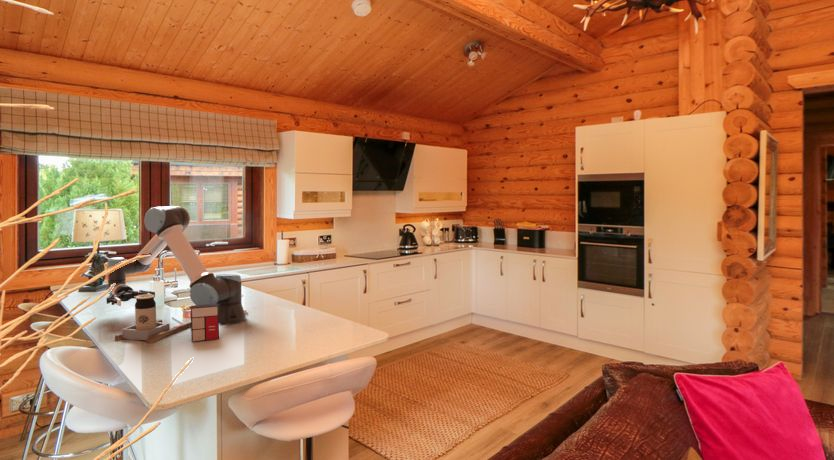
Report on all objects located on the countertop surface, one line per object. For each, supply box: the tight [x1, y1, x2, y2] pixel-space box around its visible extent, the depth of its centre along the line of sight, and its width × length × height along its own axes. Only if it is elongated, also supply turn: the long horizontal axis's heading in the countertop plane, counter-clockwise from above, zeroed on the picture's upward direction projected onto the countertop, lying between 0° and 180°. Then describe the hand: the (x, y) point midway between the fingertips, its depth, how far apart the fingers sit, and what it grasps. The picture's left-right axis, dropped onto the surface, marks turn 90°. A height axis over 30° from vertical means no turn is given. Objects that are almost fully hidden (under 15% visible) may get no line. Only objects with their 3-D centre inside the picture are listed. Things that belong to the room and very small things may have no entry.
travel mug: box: [134, 294, 157, 331], centre depth 217 cm, size 8×8×18 cm
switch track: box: [114, 319, 191, 344], centre depth 223 cm, size 18×26×2 cm
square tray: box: [121, 322, 171, 341], centre depth 218 cm, size 13×13×4 cm
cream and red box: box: [190, 304, 220, 343], centre depth 214 cm, size 11×4×15 cm, turn 114°
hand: (136, 300), depth 224 cm, fingers open, 13 cm apart
